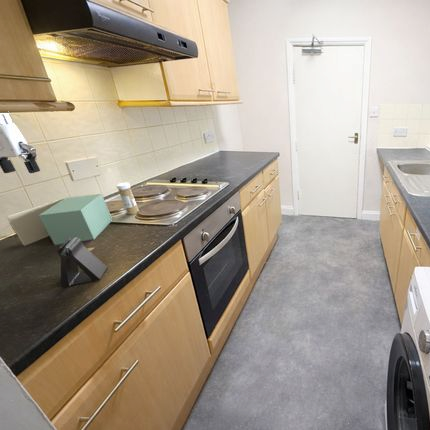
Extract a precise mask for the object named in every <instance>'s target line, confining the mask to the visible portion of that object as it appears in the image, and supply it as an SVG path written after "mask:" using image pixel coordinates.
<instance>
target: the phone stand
mask: <svg viewBox="0 0 430 430" xmlns="http://www.w3.org/2000/svg"><path fill="white" fill-rule="evenodd" d="M70 239H71V238H69V239H68V240H67V241H66V242H65V243H64V244H61V246H60V247H59V248H57V251H56V253H57V255H58V256H59V259H60V288H62V289H63V288H64V289H65V288H70V287H73V286H79V285H85V284H89V283H94V282H98V281H100V280H101V279H102V277H103V276H104V274H105V273H106V271H107V269H108V266H107V265H106V264H105V263H103V262H102V261H101V260H100V259H99V257H97V255H95V254H93V252H92V251H91V250H89V249H88V247H86V246H85V245H84V243H83V241H82V240H81V239H80V238H78V237H74V238H73V239H72V240H71V241H70ZM79 269H81V270H82V271H81V272H79Z"/></svg>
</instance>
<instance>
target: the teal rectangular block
mask: <svg viewBox="0 0 430 430" xmlns="http://www.w3.org/2000/svg"><path fill="white" fill-rule="evenodd" d="M62 199H63V198H62ZM39 217H40V219H41V221H42V223H43V224H44V226H45V228H46V230H47V232H48V234H49V235H50V236H49V238H50V239H51V241H52V243H53V244H54V246H57V245H63V244H64V243H65V242H66V241H67V240H68V239H69V238H71V239H70V241H71V240H72V239H73V238H74V237H78V238H80V239H81V240H82V242H84V241H85V242H86V241H92V240H95V239H96V238H97V237H98V236H99V235H100V234H101V233H102V232H103V231H104V230H105V229H106V228H107V226H108V225H110V223H111V222H112V221H113V218H112V215H111V213H110V210H109V208H108V205H107V203H106V201H105V198H104V196H103V194H102V193H97V194H88V195H79V196H69V197H65V199H63V200H62V201H60V202H59V203H57V204H55V205H54V206H52V207H51V208H49V209H48V210H46V211H44V212H43V213H41V214H40V215H39ZM110 221H111V222H110Z"/></svg>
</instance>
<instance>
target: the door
mask: <svg viewBox="0 0 430 430" xmlns="http://www.w3.org/2000/svg"><path fill="white" fill-rule="evenodd" d="M65 198H66V197H65ZM65 198H64V197H63V198H60V199H57V200H54V201H50V202H47V203H43V204H41V205H37V206H34V207H31V208H28V209H25V210H22V211H19V212H15V213H12V214H9V215H6V218H7V220H8V222H9V225H10V226H11V228H12V230H13V232H14V233H15V235H16V236H17V238H18V239H19V240H20V241H21V243H22V245H23V246H24V247H25V246H28V245H31V244H33V243H36V242H38V241H40V240H43V239H45V238H47V237H50V235H49V234H48V232H47V230H46V228H45V226H44V224H43V223H42V221H41V219H40V217H39V215H40V214H41V213H43V212H44V211H46V210H48V209H49V208H51V207H52V206H54V205H55V204H57V203H59V202H60V201H62V200H63V199H65Z"/></svg>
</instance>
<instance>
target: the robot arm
mask: <svg viewBox="0 0 430 430" xmlns="http://www.w3.org/2000/svg"><path fill="white" fill-rule="evenodd" d="M16 157H19V158H20V159H22V160H23V164H24V165H25V167H26V170H27V172H28V173H29V174H34V173H39V172H41V168H40V167H39V165H38V162H37V161H36V160H37V150H36V147H34V146H32V145H29V144H28V142H27V140H26V139H25V137H24V135H23V134H22V132H21V131H20V130H19V127H18V126H17V125H16V124H15V122H14V120H13V118H12V115H11V114H10V112H9V113H0V169H1V170H2V172H3V173H4V174H10V173H14V172H16V171H17V170H16V168H15V166H14V165H13V163H12V160H11V159H9V158H16Z"/></svg>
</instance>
